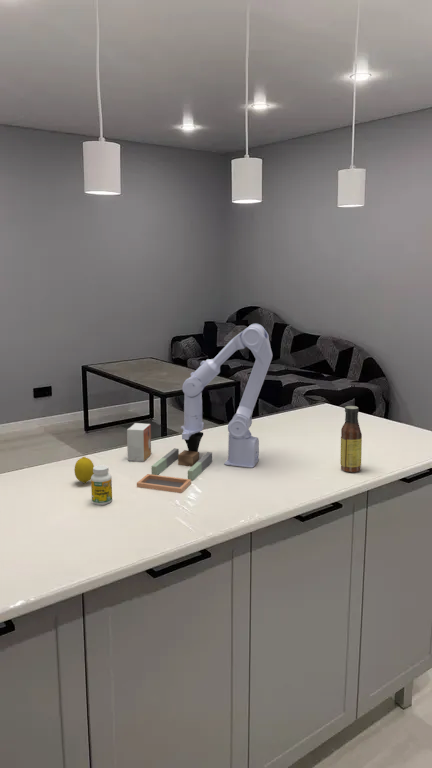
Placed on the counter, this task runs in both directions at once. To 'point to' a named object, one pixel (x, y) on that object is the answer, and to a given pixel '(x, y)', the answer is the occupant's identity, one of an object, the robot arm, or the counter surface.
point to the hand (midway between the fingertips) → (193, 455)
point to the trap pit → (164, 483)
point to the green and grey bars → (173, 455)
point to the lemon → (84, 469)
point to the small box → (139, 442)
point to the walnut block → (188, 458)
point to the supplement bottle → (101, 485)
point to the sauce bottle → (351, 441)
